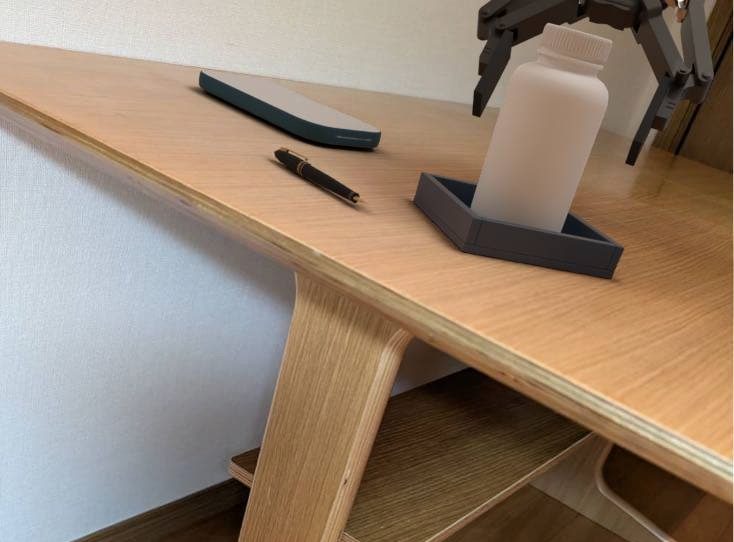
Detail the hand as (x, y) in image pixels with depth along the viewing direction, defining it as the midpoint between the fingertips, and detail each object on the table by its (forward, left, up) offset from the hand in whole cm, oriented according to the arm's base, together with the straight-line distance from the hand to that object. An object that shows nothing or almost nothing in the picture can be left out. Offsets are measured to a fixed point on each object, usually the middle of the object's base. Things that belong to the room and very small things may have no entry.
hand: (553, 129), depth 68 cm
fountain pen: (+18, -4, -9) cm, 20 cm away
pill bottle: (+2, +2, -8) cm, 9 cm away
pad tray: (+2, +2, -9) cm, 9 cm away
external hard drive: (+16, -33, -9) cm, 38 cm away
